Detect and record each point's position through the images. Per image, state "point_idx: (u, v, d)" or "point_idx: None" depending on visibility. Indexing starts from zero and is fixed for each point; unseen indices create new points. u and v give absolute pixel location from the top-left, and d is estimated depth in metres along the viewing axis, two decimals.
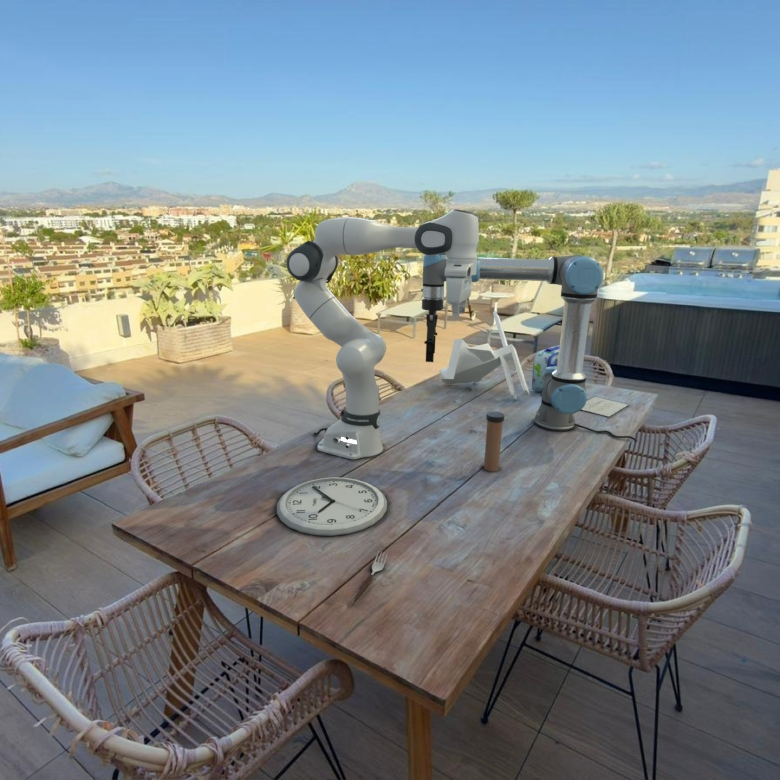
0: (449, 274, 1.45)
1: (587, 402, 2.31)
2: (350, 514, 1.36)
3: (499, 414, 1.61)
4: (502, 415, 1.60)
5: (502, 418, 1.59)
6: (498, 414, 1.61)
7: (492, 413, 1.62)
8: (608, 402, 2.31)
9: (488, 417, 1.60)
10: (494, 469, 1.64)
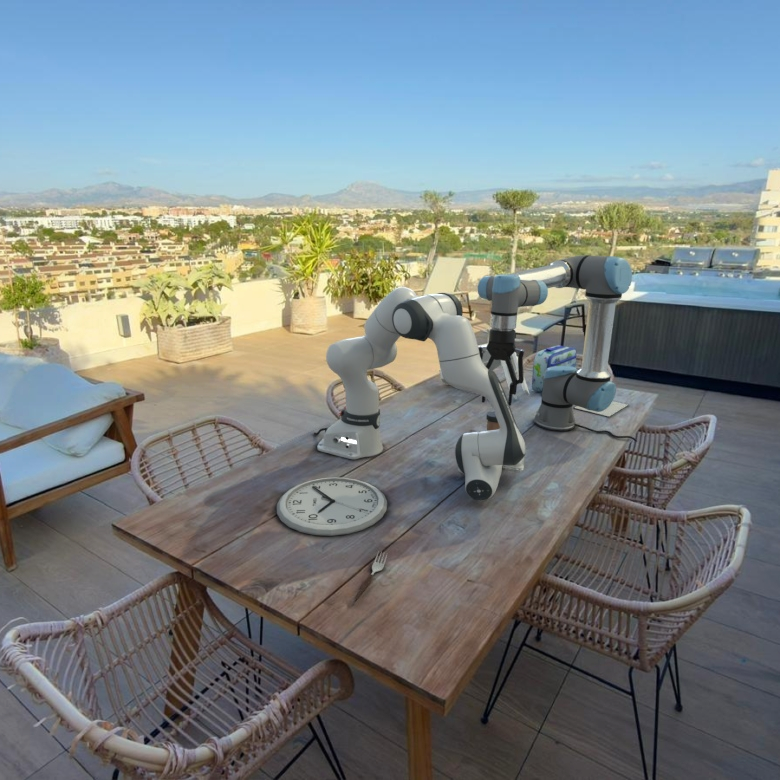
0: None
1: None
2: (350, 514, 1.36)
3: None
4: None
5: None
6: None
7: (492, 413, 1.62)
8: None
9: (488, 417, 1.60)
10: None
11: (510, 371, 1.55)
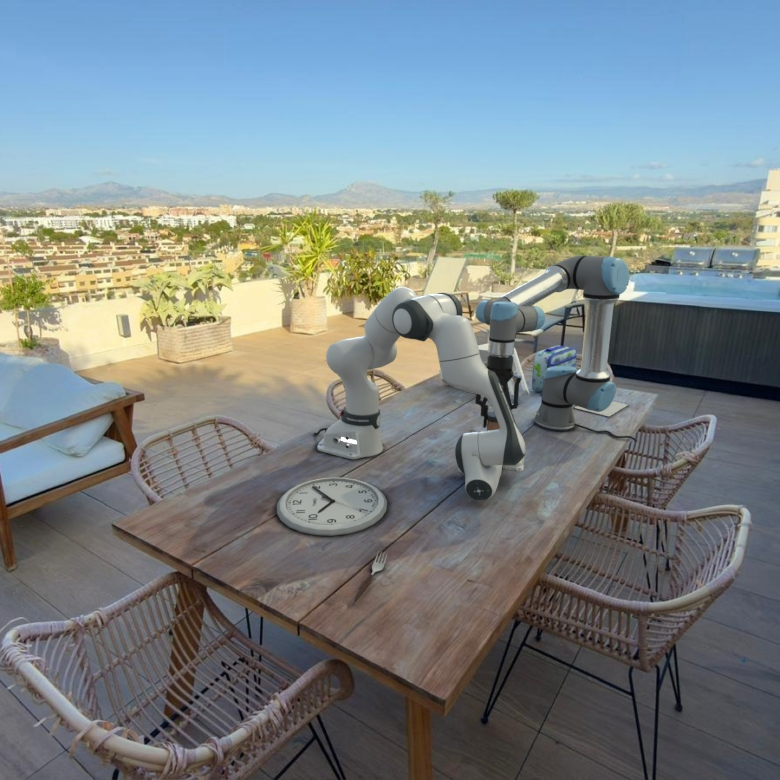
0: None
1: None
2: (350, 514, 1.36)
3: None
4: None
5: None
6: None
7: (492, 413, 1.62)
8: None
9: (488, 417, 1.60)
10: None
11: (506, 396, 1.57)
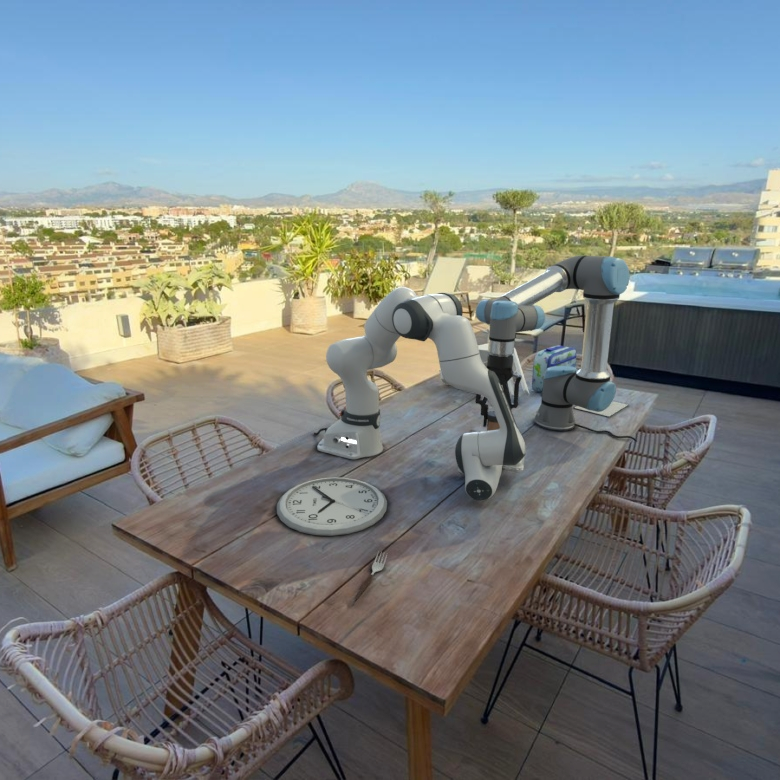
0: None
1: None
2: (350, 514, 1.36)
3: (492, 412, 1.62)
4: (492, 411, 1.63)
5: None
6: None
7: None
8: None
9: None
10: None
11: (506, 396, 1.57)
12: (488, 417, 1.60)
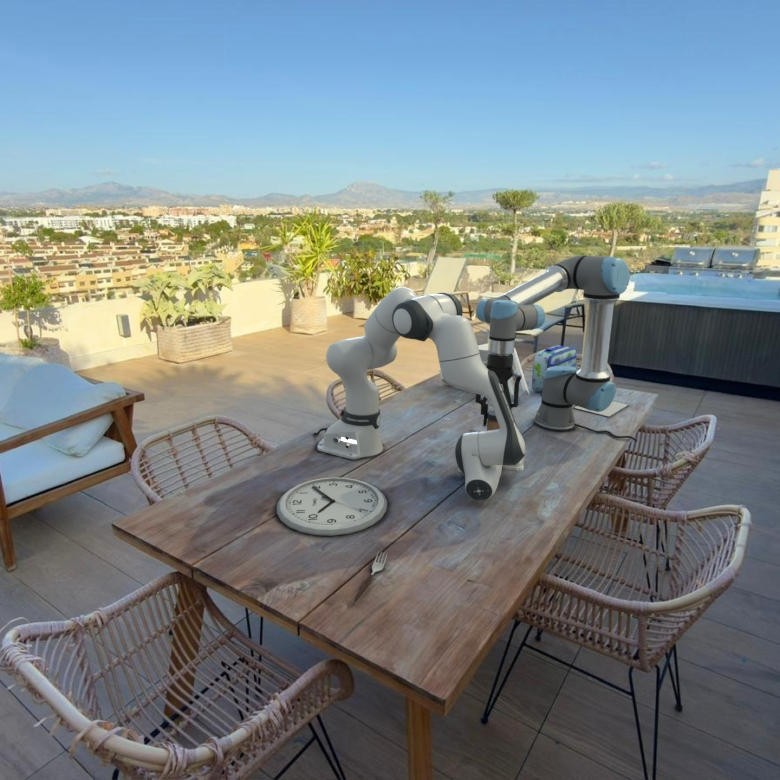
0: None
1: None
2: (350, 514, 1.36)
3: None
4: (493, 415, 1.59)
5: (489, 416, 1.60)
6: None
7: None
8: None
9: None
10: None
11: (506, 395, 1.57)
12: None
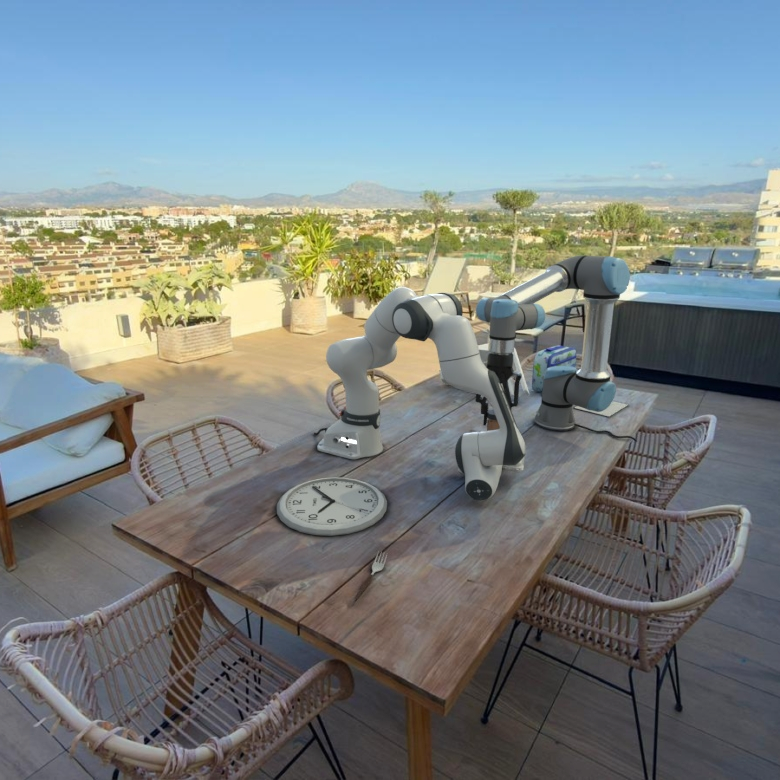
0: None
1: None
2: (350, 514, 1.36)
3: None
4: None
5: None
6: None
7: (492, 412, 1.61)
8: None
9: (493, 416, 1.59)
10: None
11: (506, 394, 1.57)
12: None
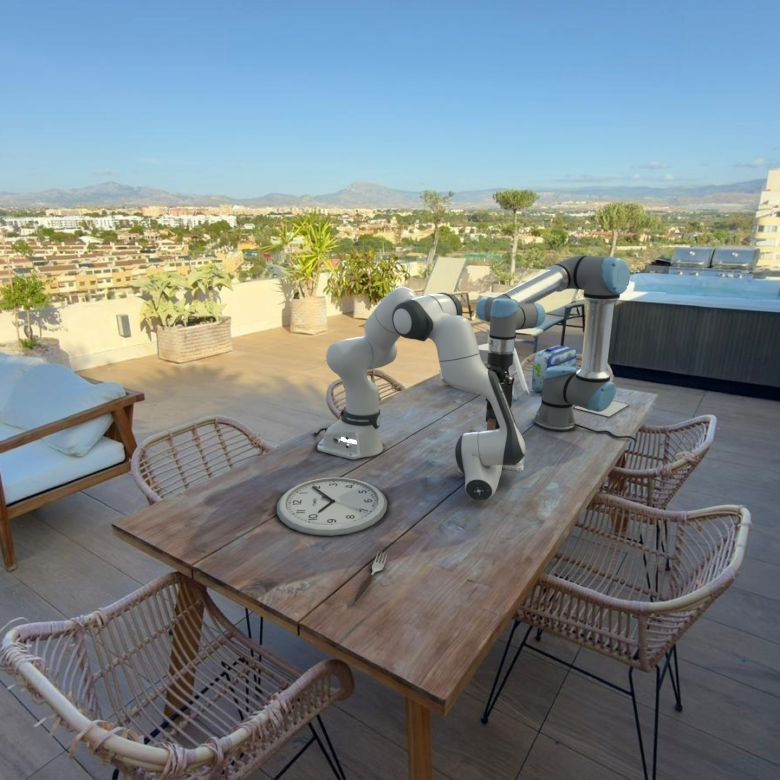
0: None
1: None
2: (350, 514, 1.36)
3: (491, 411, 1.61)
4: (489, 410, 1.62)
5: None
6: (493, 411, 1.61)
7: None
8: None
9: None
10: None
11: None
12: (492, 416, 1.59)
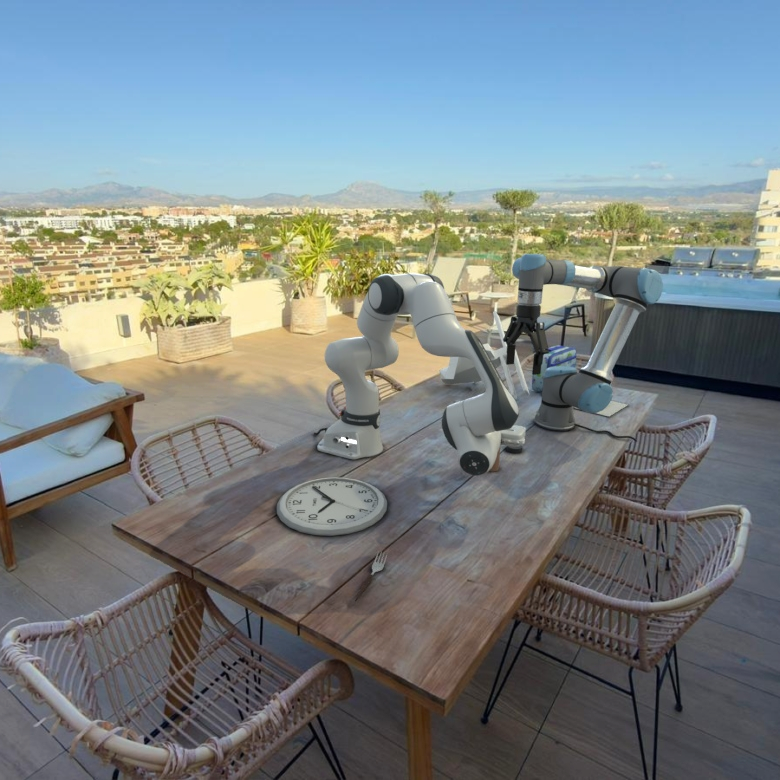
0: None
1: None
2: (350, 514, 1.36)
3: None
4: None
5: None
6: None
7: None
8: None
9: None
10: (494, 469, 1.64)
11: None
12: (512, 450, 1.78)
